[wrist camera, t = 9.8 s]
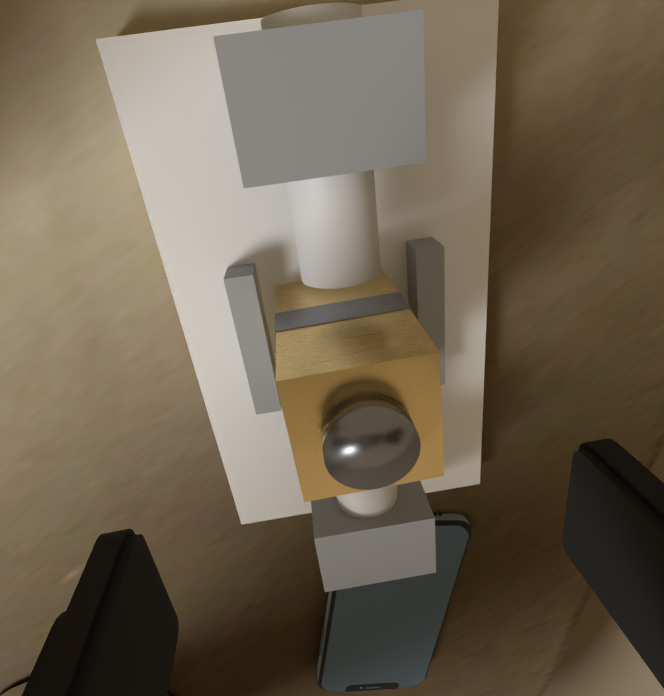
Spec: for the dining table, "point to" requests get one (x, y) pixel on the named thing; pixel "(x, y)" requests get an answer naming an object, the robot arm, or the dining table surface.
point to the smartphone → (391, 621)
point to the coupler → (357, 388)
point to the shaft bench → (265, 227)
